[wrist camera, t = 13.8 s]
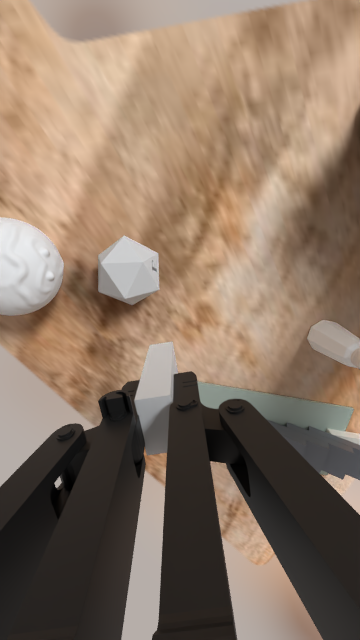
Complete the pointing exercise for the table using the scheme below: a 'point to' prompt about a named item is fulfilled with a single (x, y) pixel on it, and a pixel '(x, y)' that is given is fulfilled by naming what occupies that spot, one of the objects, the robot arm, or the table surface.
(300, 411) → the felt mat
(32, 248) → the decorative ball
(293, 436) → the domino
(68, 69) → the table surface
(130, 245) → the die
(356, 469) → the domino
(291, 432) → the domino
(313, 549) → the robot arm
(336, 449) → the domino
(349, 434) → the domino
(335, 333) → the salt shaker
